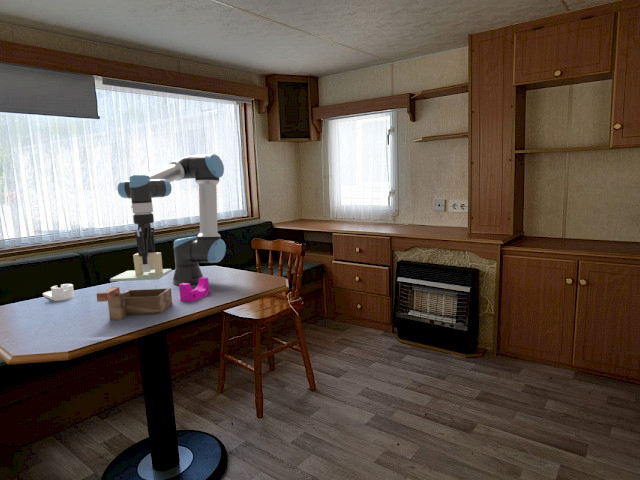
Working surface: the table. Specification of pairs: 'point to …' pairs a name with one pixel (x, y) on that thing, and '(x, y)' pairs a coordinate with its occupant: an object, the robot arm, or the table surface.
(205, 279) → the toy block
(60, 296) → the bracket
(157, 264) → the lid
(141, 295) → the toolbox
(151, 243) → the robot arm
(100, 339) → the table surface
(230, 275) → the table surface
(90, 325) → the table surface
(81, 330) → the table surface
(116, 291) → the wooden key
